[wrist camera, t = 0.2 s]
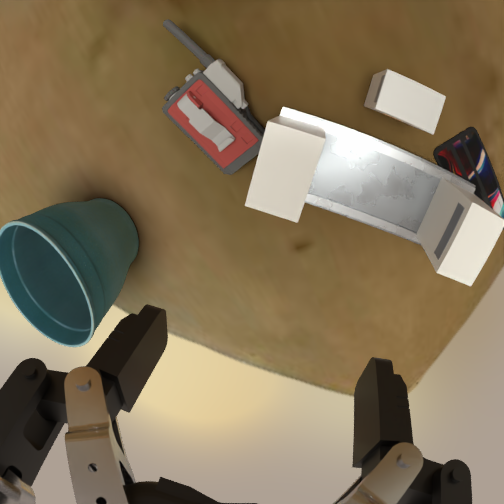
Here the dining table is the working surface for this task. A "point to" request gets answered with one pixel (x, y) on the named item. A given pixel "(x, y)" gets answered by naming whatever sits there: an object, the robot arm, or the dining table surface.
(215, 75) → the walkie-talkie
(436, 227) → the module
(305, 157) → the block
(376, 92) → the block
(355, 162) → the grey rectangular tray
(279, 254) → the dining table surface
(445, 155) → the smartphone
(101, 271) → the flower pot
